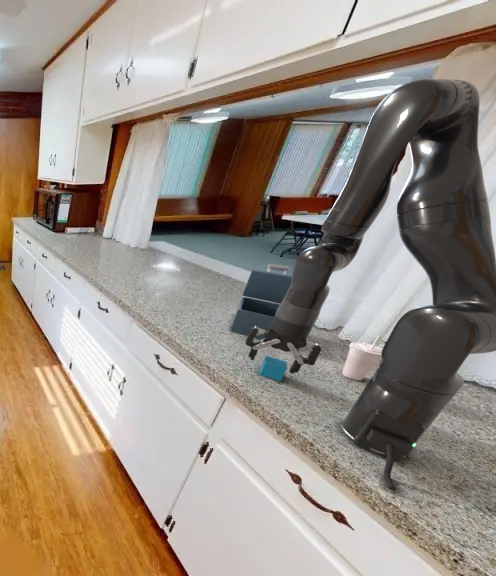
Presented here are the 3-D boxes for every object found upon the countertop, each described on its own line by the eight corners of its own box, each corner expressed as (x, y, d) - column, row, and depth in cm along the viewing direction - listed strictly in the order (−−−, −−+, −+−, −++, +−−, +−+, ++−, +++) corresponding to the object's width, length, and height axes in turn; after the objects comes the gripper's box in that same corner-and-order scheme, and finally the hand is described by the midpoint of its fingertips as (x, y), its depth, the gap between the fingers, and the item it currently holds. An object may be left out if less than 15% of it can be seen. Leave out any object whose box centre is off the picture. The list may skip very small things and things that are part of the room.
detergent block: (280, 381, 82) (286, 369, 81) (259, 374, 85) (265, 362, 83) (280, 373, 85) (286, 361, 83) (260, 367, 88) (266, 355, 86)
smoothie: (360, 385, 80) (387, 343, 74) (329, 371, 86) (352, 330, 80) (375, 381, 82) (402, 338, 76) (344, 366, 87) (367, 326, 82)
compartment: (277, 343, 99) (287, 321, 95) (230, 330, 107) (238, 309, 103) (277, 326, 108) (287, 305, 105) (234, 315, 116) (242, 295, 113)
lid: (303, 279, 94) (306, 265, 96) (251, 270, 102) (256, 258, 104) (287, 305, 105) (290, 292, 106) (242, 295, 113) (246, 284, 114)
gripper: (258, 313, 80) (238, 360, 87) (335, 333, 71) (306, 384, 78) (260, 304, 85) (241, 349, 92) (333, 321, 76) (305, 370, 83)
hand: (271, 365), depth 85 cm, fingers open, 8 cm apart
